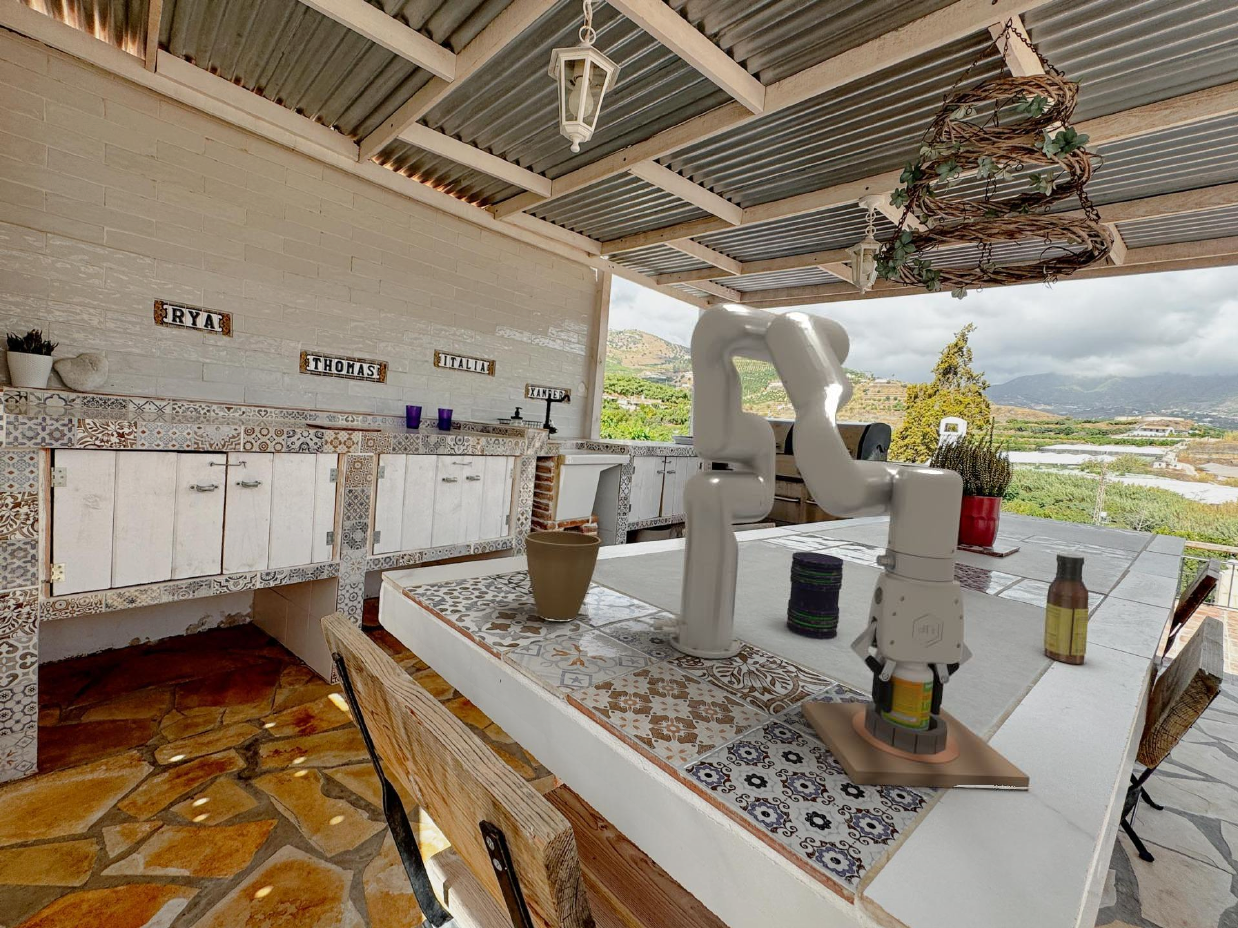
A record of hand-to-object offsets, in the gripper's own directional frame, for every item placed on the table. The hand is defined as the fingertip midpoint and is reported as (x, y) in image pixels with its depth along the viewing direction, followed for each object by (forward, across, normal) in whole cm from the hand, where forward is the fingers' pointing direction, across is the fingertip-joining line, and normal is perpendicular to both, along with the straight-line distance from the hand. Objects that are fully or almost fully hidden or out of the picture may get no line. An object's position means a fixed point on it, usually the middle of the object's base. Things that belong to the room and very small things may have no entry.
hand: (905, 707), depth 70 cm
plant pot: (+5, -46, +43) cm, 63 cm away
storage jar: (+5, +5, +42) cm, 43 cm away
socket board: (+5, 0, 0) cm, 5 cm away
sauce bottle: (+5, +50, +33) cm, 60 cm away
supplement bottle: (+2, 0, 0) cm, 2 cm away
